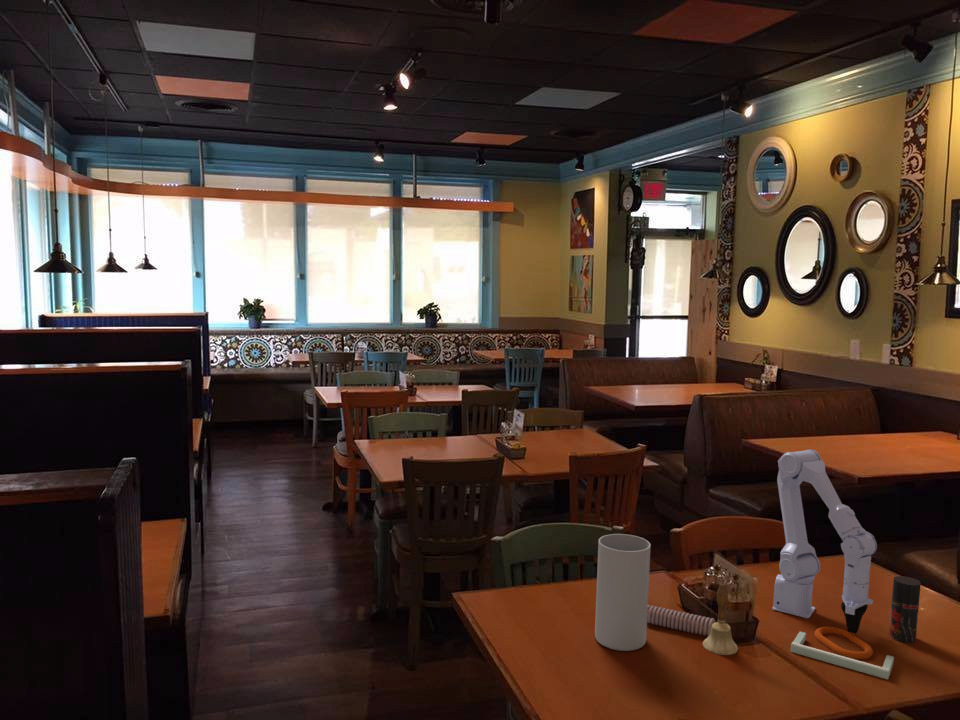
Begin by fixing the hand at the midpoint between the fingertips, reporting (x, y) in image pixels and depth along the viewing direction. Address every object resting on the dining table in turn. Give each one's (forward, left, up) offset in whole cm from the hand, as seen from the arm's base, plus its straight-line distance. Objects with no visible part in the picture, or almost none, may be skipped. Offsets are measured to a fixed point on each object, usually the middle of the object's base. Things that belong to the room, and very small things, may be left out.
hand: (852, 631), depth 192 cm
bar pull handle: (0, -14, -1) cm, 14 cm away
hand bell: (-25, -27, -1) cm, 37 cm away
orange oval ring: (-1, -6, -2) cm, 7 cm away
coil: (-37, -23, -2) cm, 44 cm away
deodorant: (+10, +7, -1) cm, 13 cm away
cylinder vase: (-46, -39, -1) cm, 60 cm away
